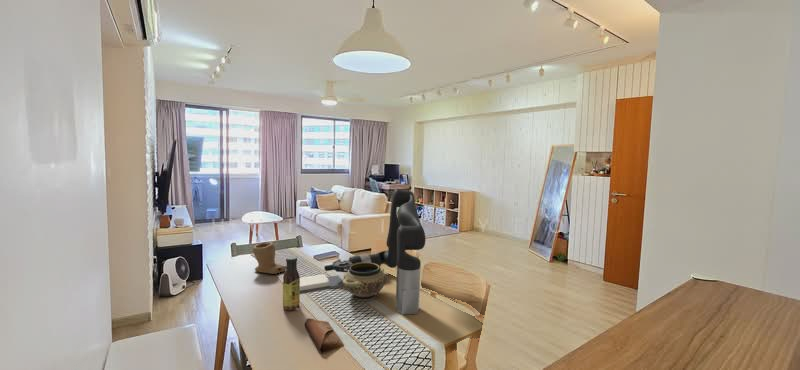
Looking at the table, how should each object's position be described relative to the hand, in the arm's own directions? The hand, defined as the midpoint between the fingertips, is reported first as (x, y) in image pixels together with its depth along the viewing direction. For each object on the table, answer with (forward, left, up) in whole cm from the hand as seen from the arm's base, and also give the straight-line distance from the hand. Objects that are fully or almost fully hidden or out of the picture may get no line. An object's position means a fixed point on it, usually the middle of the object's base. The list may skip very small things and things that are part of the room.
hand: (324, 268), depth 151 cm
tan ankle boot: (+19, +29, -8) cm, 35 cm away
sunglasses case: (-45, -2, -8) cm, 45 cm away
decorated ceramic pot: (-15, -17, -8) cm, 24 cm away
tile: (0, -1, -6) cm, 6 cm away
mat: (-1, +3, -7) cm, 8 cm away
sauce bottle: (-22, +12, -8) cm, 26 cm away
